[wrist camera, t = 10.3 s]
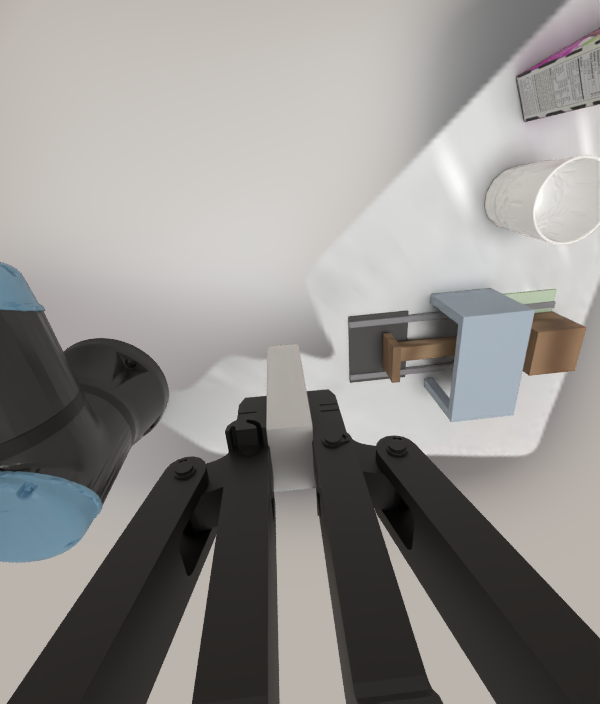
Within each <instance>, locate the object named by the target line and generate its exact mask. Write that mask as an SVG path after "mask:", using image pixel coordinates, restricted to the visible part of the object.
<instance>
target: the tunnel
mask: <svg viewBox="0 0 600 704" xmlns="http://www.w3.org/2000/svg"><path fill="white" fill-rule="evenodd" d="M430 303H431V304H433V305H434V306H435V307H437V308H438V309H439V310H440V311H442V312H433V313H423V314H413V315H408V316H398V317H388V318H378V319H368V320H358V321H349V328H356V327H366V326H376V325H386V324H395V323H405V322H415V321H425V320H435V319H445V318H451V319H452V320H454V321H455V322H456V323H457V324H458V332H457V340H456V349H455V358H454V363H444V364H435V365H425V366H416V367H406V368H403V369H400V375H406V374H416V373H425V372H434V371H444V370H453V375H452V384H451V393H450V399H449V397H448V396H447V395H446V394H445V392H444V391H443V390H442V389H441V388H440V386H439V385H438V384H437V383H436V381H435V380H434V379H433V378H427V379H424V387H425V388H426V389H427V391H428V392H429V393H430V395H431V396H432V397H433V399H434V400H435V401H436V403H437V404H438V405H439V407H440V408H441V409H442V411H443V412H444V413H445V415H446V416H447V417H448V419H449V420H450V421H451V422H457V421H466V420H475V419H484V418H493V417H502V416H511V415H513V414H514V409H515V404H516V399H517V395H518V390H519V385H520V380H521V375H522V370H523V366H524V361H525V356H526V351H527V346H528V341H529V336H530V332H531V327H532V322H533V317H534V312H535V310H534V309H544V308H554V306H555V301H550V302H540V303H530V304H522V303H520V302H518V301H516V300H514V299H512V298H509V297H507V296H505V295H503V294H501V293H499V292H497V291H495V290H493V289H491V288H488V289H477V290H467V291H457V292H447V293H437V294H431V301H430ZM387 376H388V375H387V373H386V372H385V370H384V371H375V372H365V373H356V374H350V380H359V379H368V378H378V377H387Z"/></svg>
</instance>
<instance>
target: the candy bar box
mask: <svg viewBox="0 0 600 704" xmlns="http://www.w3.org/2000/svg"><path fill="white" fill-rule="evenodd" d="M516 80H517V87H518V91H519V94H520V99H521V105H522V111H523V115H524V121H525V122H527V121H531V120H535V119H540V118H544V117H548V116H552V115H557V114H561V113H565V112H569V111H573V110H577V109H581V108H586V107H590V106H594V105H598V104H600V28H599V29H598V30H596V31H594V32H592V33H590V34H589V35H587V36H585V37H583V38H582V39H580V40H578V41H577V42H575V43H573V44H571V45H570V46H568V47H566V48H564V49H563V50H561V51H559V52H557V53H556V54H554V55H552V56H551V57H549V58H547V59H545V60H544V61H542V62H540V63H539V64H537V65H535V66H534V67H532V68H530V69H529V70H527V71H525V72H523V73H522V74H520V75H518V76H517V77H516Z"/></svg>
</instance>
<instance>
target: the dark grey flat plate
mask: <svg viewBox="0 0 600 704" xmlns="http://www.w3.org/2000/svg"><path fill="white" fill-rule="evenodd" d="M398 316H408V311H400V312H390V313H380V314H370V315H360V316H350V317H349V321H358V320H368V319H378V318H388V317H398ZM407 328H408V322H405V323H395V324H386V325H376V326H366V327H356V328H349V361H350V374H356V373H365V372H375V371H384V368H383V367H382V365H383V334H384V333H391V334H392V335H393V337H394V338H395V339H396V340H397V342H405V341H407ZM405 367H406V361H401V368H400V369H403V368H405ZM400 377H405V375H400ZM380 379H389V377H388V376H387V377H378V378H368V379H359V380H350V383H351V382H361V381H370V380H380Z"/></svg>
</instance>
